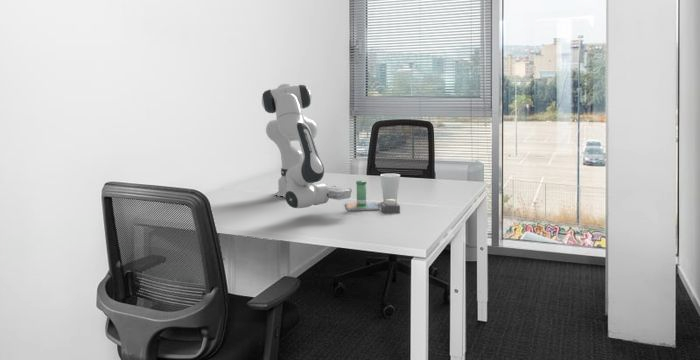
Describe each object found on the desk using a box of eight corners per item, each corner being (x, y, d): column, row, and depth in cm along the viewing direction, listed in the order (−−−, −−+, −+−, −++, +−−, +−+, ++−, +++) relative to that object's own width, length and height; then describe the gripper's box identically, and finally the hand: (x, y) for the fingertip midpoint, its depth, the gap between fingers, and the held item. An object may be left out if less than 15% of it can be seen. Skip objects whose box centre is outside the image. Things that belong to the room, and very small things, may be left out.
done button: (384, 206, 240) (384, 199, 240) (394, 206, 241) (394, 198, 240) (386, 208, 236) (386, 201, 235) (396, 208, 236) (396, 200, 236)
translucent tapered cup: (382, 204, 254) (383, 176, 252) (378, 200, 263) (378, 173, 261) (402, 203, 256) (402, 176, 253) (396, 199, 264) (397, 173, 262)
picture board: (345, 204, 253) (345, 203, 253) (374, 203, 255) (374, 202, 255) (348, 211, 239) (348, 209, 239) (379, 210, 240) (379, 208, 240)
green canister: (355, 204, 250) (355, 180, 248) (365, 204, 250) (365, 180, 248) (357, 206, 245) (356, 182, 243) (367, 206, 246) (367, 181, 244)
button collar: (381, 209, 242) (381, 203, 241) (396, 209, 242) (396, 202, 242) (383, 213, 235) (383, 206, 234) (399, 212, 235) (399, 205, 235)
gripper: (336, 189, 221) (360, 184, 230) (303, 183, 235) (326, 179, 244) (337, 204, 222) (360, 199, 231) (304, 197, 236) (327, 193, 245)
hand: (342, 189), depth 238 cm, fingers open, 8 cm apart
